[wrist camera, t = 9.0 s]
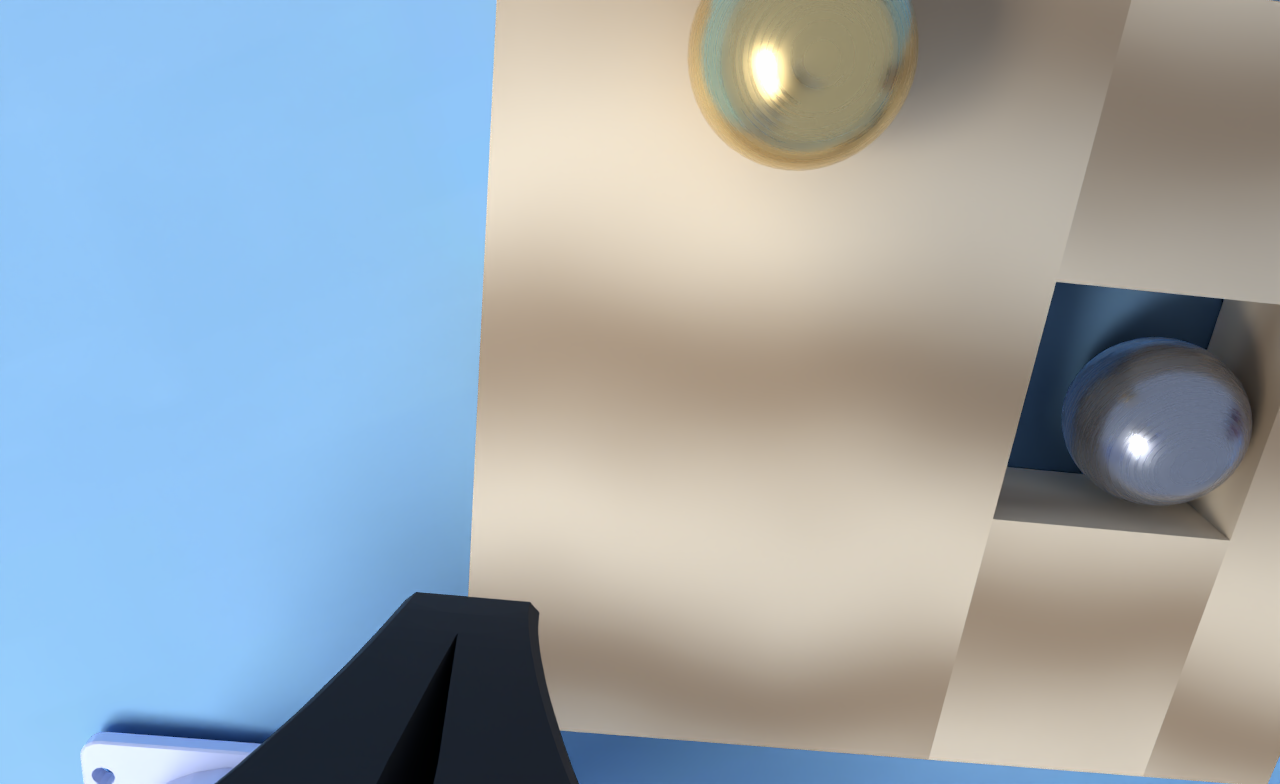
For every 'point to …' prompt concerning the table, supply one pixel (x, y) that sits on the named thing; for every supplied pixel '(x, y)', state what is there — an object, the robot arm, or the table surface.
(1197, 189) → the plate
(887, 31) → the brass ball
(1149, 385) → the steel ball
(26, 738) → the table surface
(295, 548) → the table surface
